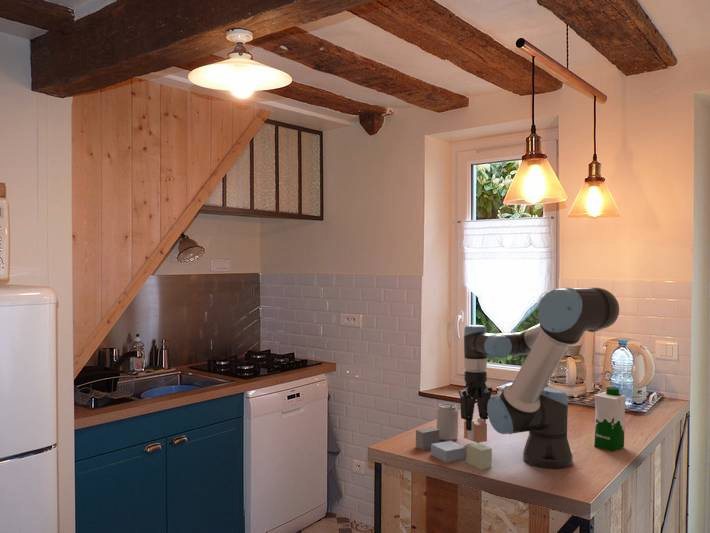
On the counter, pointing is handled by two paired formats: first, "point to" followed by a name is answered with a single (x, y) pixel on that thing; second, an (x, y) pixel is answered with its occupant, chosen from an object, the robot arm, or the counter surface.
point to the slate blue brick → (448, 451)
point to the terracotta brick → (477, 431)
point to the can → (447, 422)
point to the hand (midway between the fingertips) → (476, 438)
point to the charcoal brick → (426, 437)
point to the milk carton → (609, 419)
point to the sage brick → (479, 455)
